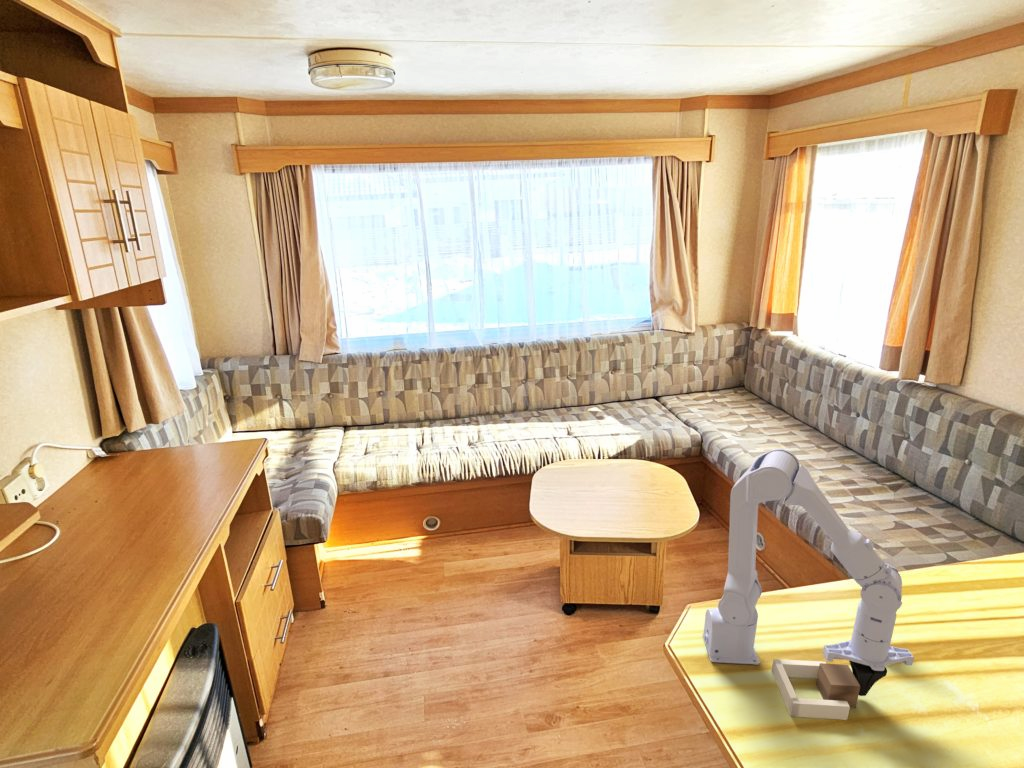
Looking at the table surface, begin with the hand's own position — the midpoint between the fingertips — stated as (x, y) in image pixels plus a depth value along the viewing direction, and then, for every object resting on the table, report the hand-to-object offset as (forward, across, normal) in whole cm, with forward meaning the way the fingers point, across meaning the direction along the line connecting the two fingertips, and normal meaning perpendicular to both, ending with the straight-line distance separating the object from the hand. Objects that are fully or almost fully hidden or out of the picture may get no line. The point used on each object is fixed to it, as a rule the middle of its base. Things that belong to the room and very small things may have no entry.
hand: (859, 691), depth 108 cm
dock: (+1, -9, 0) cm, 9 cm away
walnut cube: (+1, -4, 0) cm, 4 cm away
